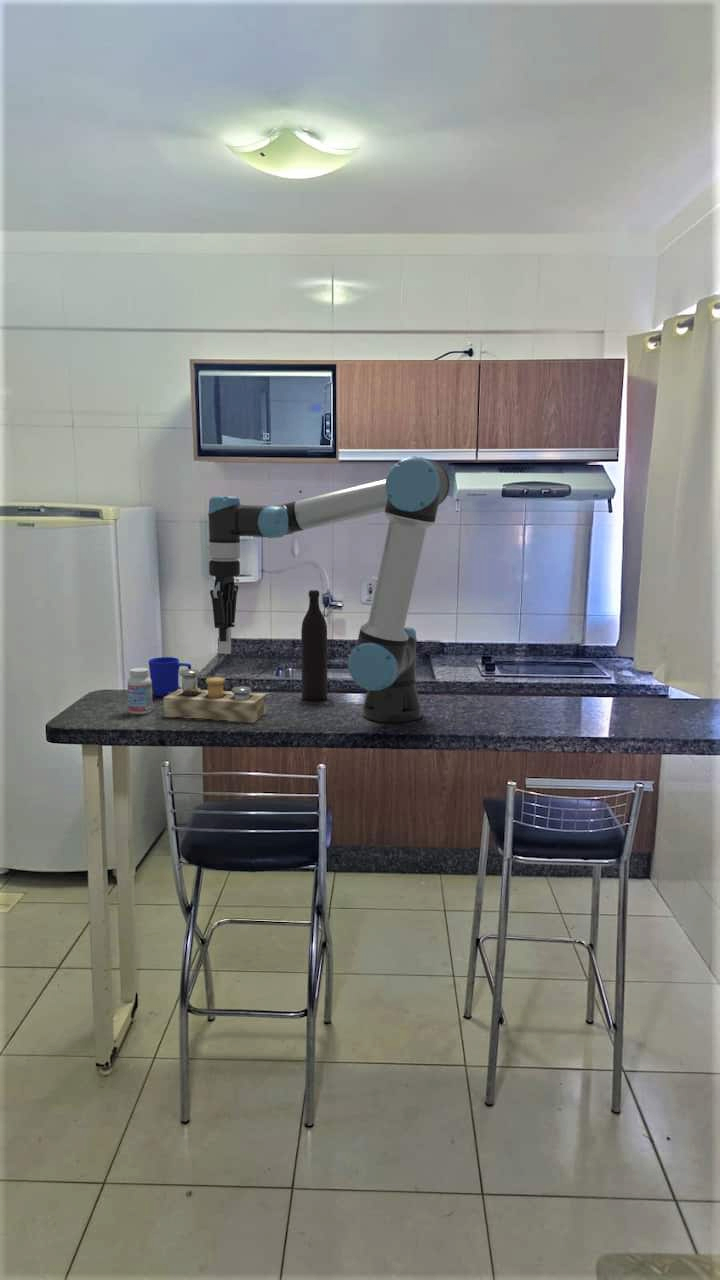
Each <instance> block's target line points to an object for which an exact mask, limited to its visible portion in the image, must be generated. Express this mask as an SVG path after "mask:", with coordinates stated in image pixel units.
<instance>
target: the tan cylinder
mask: <svg viewBox="0 0 720 1280" xmlns="http://www.w3.org/2000/svg"><path fill="white" fill-rule="evenodd" d="M225 683H226V678H224V677H219V676H218V677H217V676H214V677H208V678H206V679H205V684H207V690H208V698H223V691H224V684H225Z"/></svg>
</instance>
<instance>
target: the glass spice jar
mask: <svg viewBox="0 0 720 1280" xmlns="http://www.w3.org/2000/svg"><path fill="white" fill-rule="evenodd" d="M231 691H232V693H234V699H237V700H248V699H249V693H252V688H251V687H250V686H246V685H244V686H241V685H240V686H234V687H232V688H231Z"/></svg>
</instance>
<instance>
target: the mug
mask: <svg viewBox="0 0 720 1280" xmlns="http://www.w3.org/2000/svg"><path fill="white" fill-rule="evenodd" d="M148 666H149V667H148V670H149V675H150V676H149V678H150V679H151V681H152V695H154V696H156V697H161V698H164V697H165V696H167V695H169V694H171V693H168V692H175V691H177V690H178V689H180V688H181V687H180V685H179V676H180V667H186V668H187V669H192V664H190V663H185V662H180V659H179V658H177V657H173V656H172V657H171V656H170V657H168V656H163V657H161V656H160V657H155V658H151V659H149V660H148Z"/></svg>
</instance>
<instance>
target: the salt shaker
mask: <svg viewBox="0 0 720 1280" xmlns="http://www.w3.org/2000/svg"><path fill="white" fill-rule="evenodd" d="M199 675H200V670H199V669H196V668H195V669H194V668H191V669H188V668H187V669H182V670H179V676H181V683H182V684H181V685H182V687H181V688H182V691H183V696H189V697H196V696H198V676H199Z"/></svg>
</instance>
